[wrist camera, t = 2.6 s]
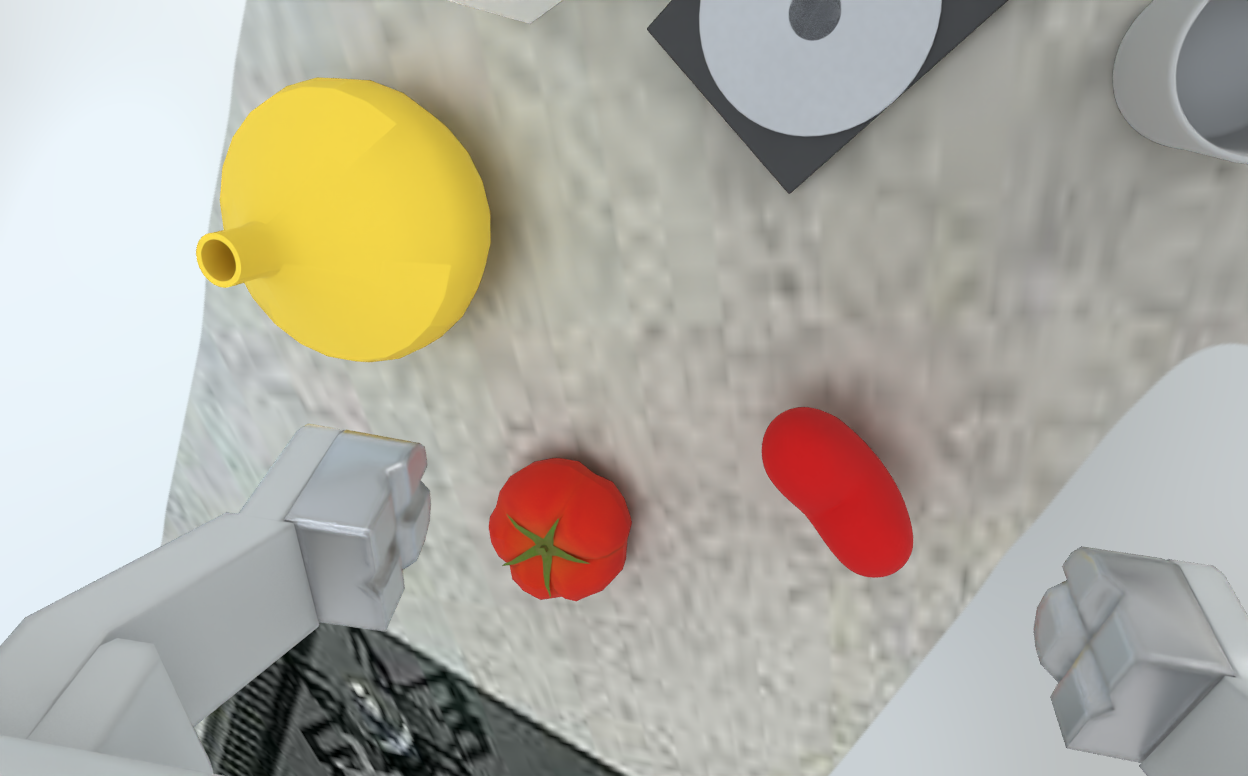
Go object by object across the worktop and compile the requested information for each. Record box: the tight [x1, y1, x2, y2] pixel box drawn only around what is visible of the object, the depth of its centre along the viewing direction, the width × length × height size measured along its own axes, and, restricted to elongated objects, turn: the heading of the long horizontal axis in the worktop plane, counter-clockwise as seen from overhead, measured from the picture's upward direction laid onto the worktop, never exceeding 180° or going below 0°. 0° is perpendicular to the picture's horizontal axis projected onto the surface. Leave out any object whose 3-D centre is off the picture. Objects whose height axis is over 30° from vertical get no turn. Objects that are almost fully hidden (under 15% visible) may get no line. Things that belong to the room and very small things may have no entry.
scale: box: [647, 0, 1008, 194], centre depth 46 cm, size 15×13×3 cm
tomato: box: [489, 458, 632, 601], centre depth 61 cm, size 11×11×8 cm
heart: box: [762, 407, 913, 578], centre depth 51 cm, size 12×5×10 cm, turn 44°
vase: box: [196, 78, 491, 362], centre depth 52 cm, size 18×18×19 cm
